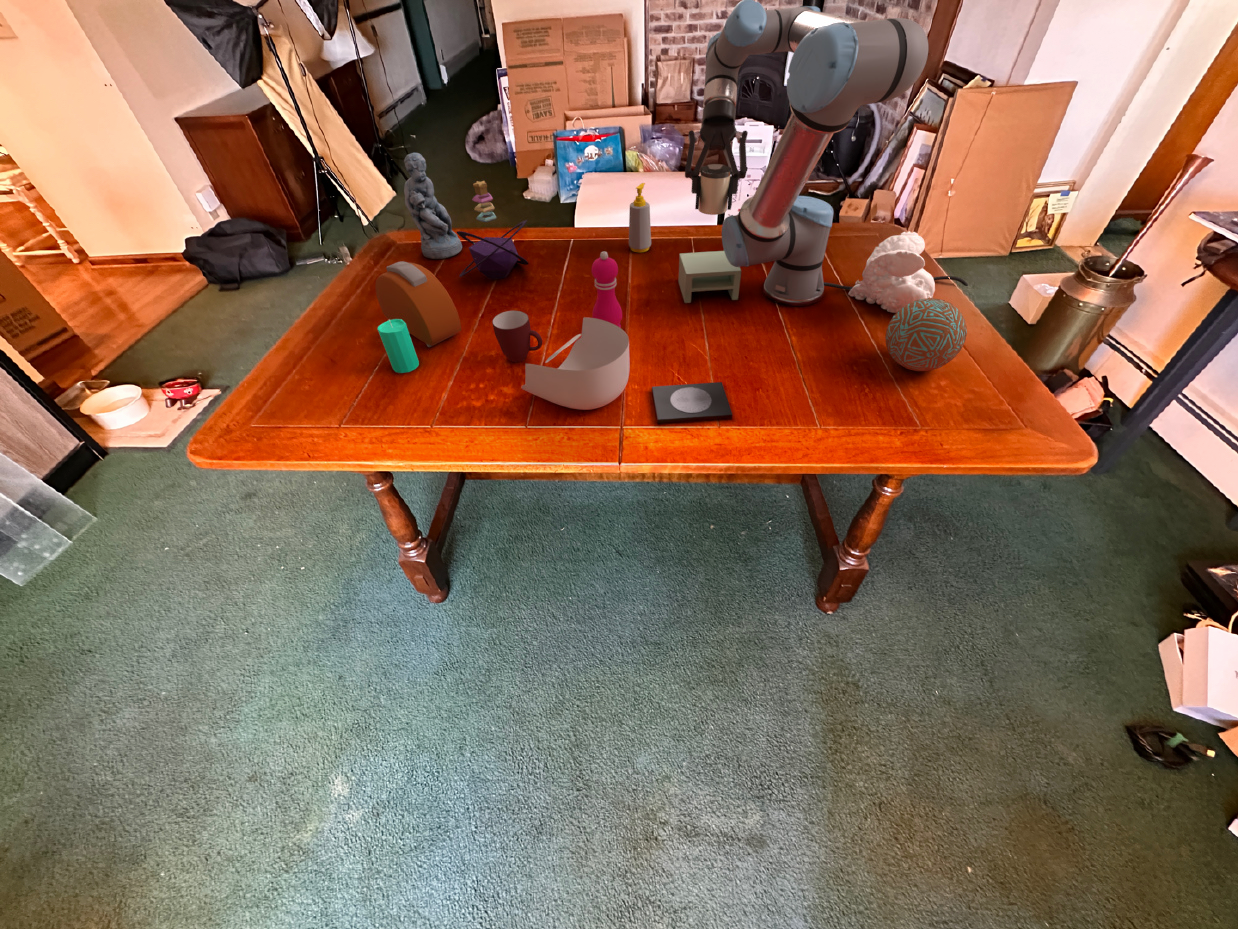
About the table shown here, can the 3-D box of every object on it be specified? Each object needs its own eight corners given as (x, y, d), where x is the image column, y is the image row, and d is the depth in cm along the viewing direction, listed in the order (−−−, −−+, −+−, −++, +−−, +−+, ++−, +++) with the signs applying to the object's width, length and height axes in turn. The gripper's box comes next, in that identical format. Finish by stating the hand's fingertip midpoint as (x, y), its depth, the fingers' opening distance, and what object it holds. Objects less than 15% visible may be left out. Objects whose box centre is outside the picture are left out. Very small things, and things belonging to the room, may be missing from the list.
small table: (728, 278, 154) (731, 250, 148) (737, 299, 145) (741, 270, 140) (678, 281, 154) (679, 253, 148) (684, 303, 145) (686, 273, 140)
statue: (447, 273, 171) (454, 188, 150) (381, 239, 170) (379, 150, 150) (467, 256, 179) (477, 173, 158) (403, 223, 178) (405, 136, 158)
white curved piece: (596, 431, 110) (592, 382, 102) (521, 401, 118) (511, 353, 110) (646, 378, 122) (646, 331, 114) (575, 354, 130) (570, 309, 121)
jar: (724, 203, 136) (728, 163, 130) (729, 214, 131) (734, 173, 125) (695, 204, 136) (698, 164, 130) (700, 215, 131) (703, 174, 125)
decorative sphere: (862, 356, 125) (881, 294, 115) (914, 339, 129) (937, 278, 119) (911, 392, 116) (938, 329, 105) (966, 373, 119) (997, 310, 109)
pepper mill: (619, 340, 134) (616, 259, 120) (590, 338, 135) (583, 257, 121) (625, 324, 139) (623, 245, 124) (597, 322, 140) (591, 243, 126)
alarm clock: (466, 338, 137) (449, 273, 125) (435, 353, 132) (414, 288, 120) (414, 307, 148) (394, 246, 137) (384, 321, 144) (360, 258, 132)
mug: (548, 348, 132) (542, 310, 125) (542, 368, 126) (536, 329, 119) (504, 348, 133) (496, 310, 126) (497, 367, 127) (488, 329, 120)
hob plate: (721, 386, 119) (721, 381, 118) (731, 419, 111) (732, 414, 111) (651, 391, 119) (651, 386, 118) (657, 424, 111) (657, 419, 110)
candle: (395, 375, 126) (377, 329, 118) (390, 362, 130) (372, 316, 122) (421, 368, 128) (406, 321, 120) (415, 355, 132) (400, 309, 124)
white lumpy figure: (963, 296, 125) (898, 237, 123) (889, 352, 139) (830, 301, 138) (964, 265, 137) (905, 211, 136) (896, 320, 152) (842, 272, 150)
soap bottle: (654, 245, 171) (655, 183, 158) (646, 254, 166) (646, 191, 154) (634, 242, 173) (633, 180, 160) (625, 251, 169) (623, 188, 156)
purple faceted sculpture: (551, 268, 162) (539, 176, 145) (503, 299, 150) (484, 203, 132) (493, 253, 171) (475, 164, 154) (444, 281, 159) (418, 188, 141)
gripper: (760, 117, 132) (754, 214, 133) (676, 117, 134) (671, 213, 135) (765, 97, 125) (758, 199, 125) (676, 97, 127) (670, 198, 127)
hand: (713, 206), depth 130 cm, fingers closed on jar, 7 cm apart
